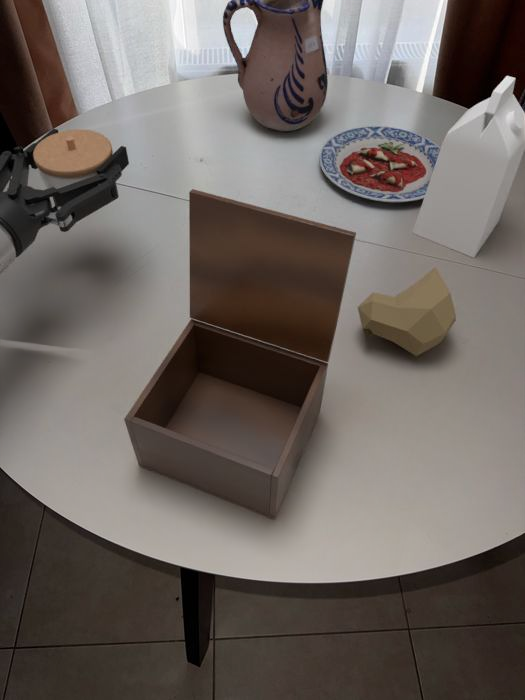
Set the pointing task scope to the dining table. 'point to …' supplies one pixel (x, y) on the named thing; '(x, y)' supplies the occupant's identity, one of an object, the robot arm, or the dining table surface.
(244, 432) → the chest
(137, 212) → the dining table surface
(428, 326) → the tan faceted lump
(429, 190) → the milk
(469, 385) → the dining table surface
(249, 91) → the ceramic pitcher
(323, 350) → the lid
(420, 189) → the ceramic plate
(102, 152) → the trinket box
